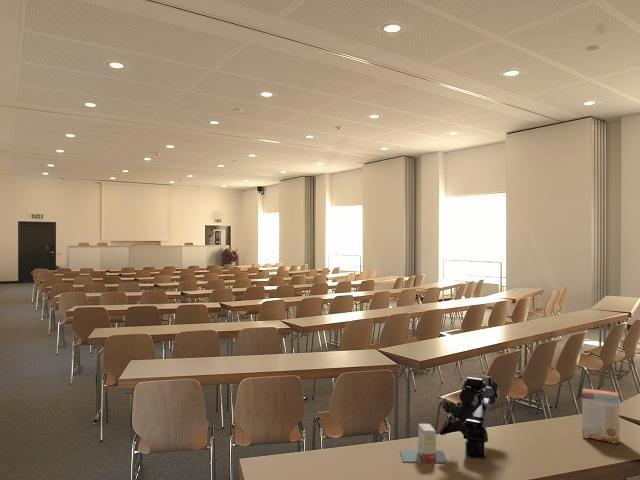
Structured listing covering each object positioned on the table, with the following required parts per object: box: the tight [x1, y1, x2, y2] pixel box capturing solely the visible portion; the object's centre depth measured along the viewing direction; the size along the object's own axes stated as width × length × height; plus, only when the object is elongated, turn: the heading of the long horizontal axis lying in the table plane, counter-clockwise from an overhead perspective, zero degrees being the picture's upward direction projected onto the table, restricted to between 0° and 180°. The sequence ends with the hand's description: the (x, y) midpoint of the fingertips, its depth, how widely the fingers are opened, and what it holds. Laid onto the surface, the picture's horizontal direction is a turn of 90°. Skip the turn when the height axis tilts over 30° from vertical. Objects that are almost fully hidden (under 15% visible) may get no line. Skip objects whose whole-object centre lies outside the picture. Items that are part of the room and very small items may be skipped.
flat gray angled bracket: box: [399, 449, 448, 464], centre depth 199 cm, size 17×11×1 cm, turn 87°
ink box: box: [417, 423, 437, 461], centre depth 199 cm, size 9×5×12 cm, turn 5°
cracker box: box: [581, 388, 620, 444], centre depth 218 cm, size 14×6×21 cm, turn 58°
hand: (440, 434), depth 199 cm, fingers closed
